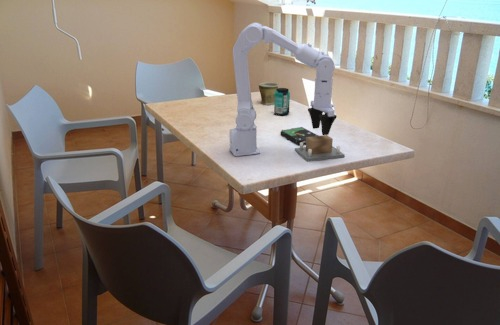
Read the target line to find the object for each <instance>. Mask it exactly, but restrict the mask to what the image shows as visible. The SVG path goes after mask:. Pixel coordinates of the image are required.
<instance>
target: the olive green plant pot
mask: <svg viewBox="0 0 500 325" xmlns="http://www.w3.org/2000/svg"><path fill="white" fill-rule="evenodd" d="M277 88H279V84H278V83H276V82H262V83H259V84H258V89H259V94H260V99H261V104H262V105H264V106H274V104H275V92H276V89H277Z"/></svg>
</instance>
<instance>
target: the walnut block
mask: <svg viewBox="0 0 500 325" xmlns="http://www.w3.org/2000/svg"><path fill="white" fill-rule="evenodd" d="M333 139H334V138H332V137H331V136H329V134H328V135H319V136H312V137H306V145H305V147H306V151H307V152H308V149H312V154H311V155H313V154H322V153H331V152H332V146H333V142H334V141H333Z"/></svg>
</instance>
